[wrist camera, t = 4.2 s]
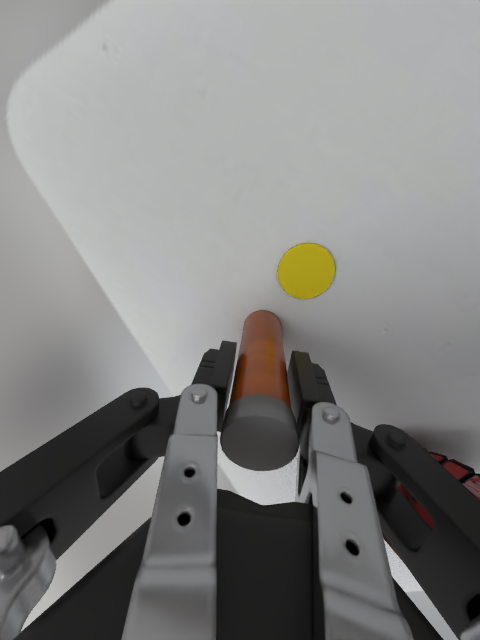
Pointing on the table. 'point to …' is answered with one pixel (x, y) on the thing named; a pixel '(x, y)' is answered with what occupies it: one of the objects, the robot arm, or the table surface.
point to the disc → (306, 270)
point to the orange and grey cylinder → (260, 400)
